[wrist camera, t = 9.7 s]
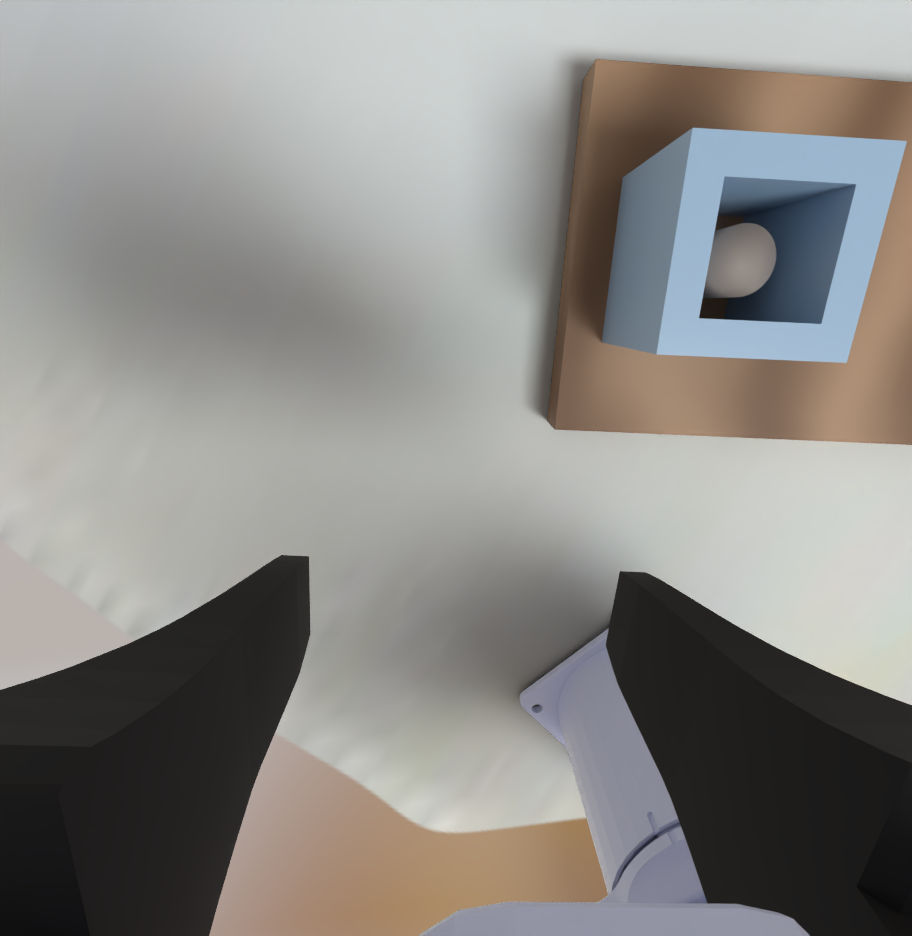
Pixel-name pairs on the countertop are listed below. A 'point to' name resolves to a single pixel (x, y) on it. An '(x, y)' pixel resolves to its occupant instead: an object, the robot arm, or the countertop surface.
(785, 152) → the collar
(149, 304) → the countertop surface
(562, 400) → the stub board
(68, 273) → the countertop surface
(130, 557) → the countertop surface
